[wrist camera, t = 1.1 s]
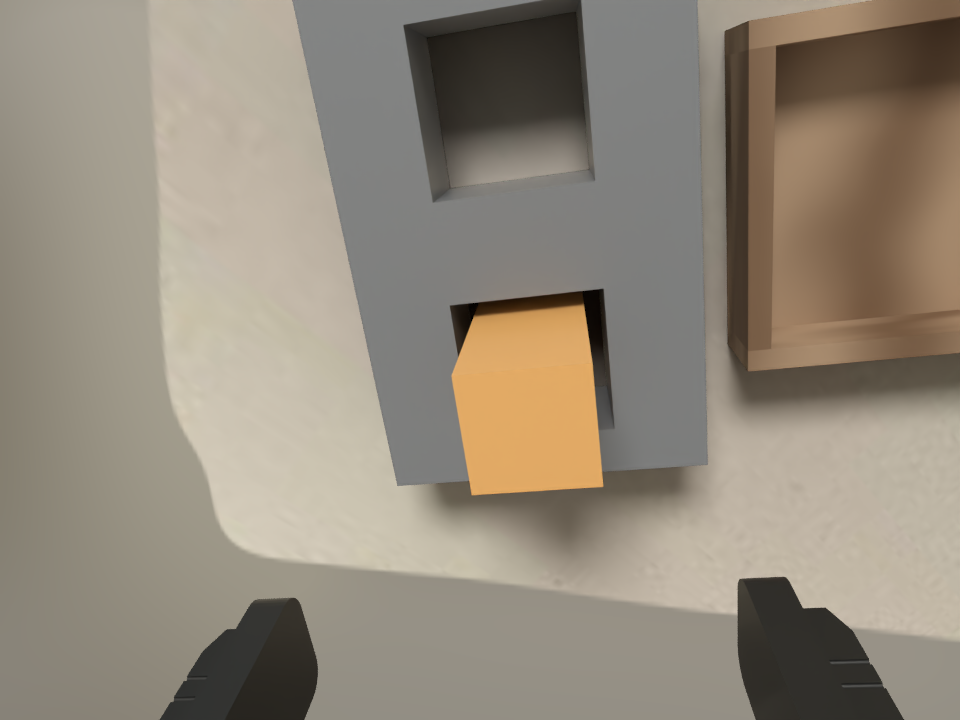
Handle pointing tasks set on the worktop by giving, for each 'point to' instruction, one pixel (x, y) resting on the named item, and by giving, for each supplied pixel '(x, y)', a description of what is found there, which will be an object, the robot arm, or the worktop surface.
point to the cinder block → (520, 218)
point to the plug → (528, 396)
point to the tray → (844, 184)
